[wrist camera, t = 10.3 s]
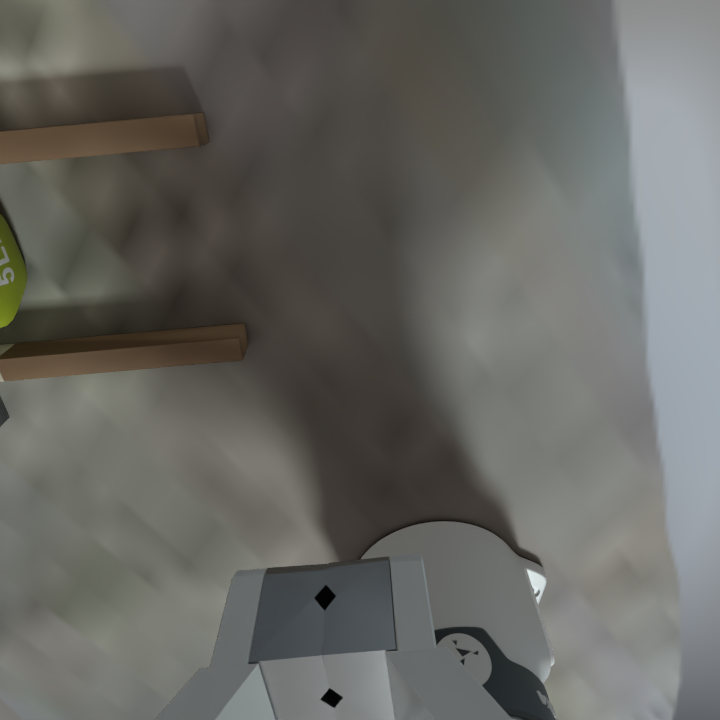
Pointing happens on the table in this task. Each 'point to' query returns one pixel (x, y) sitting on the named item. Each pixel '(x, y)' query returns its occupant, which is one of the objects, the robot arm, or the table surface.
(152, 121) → the beam slot
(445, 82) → the table surface
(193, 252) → the table surface
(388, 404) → the table surface
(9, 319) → the dumbbell
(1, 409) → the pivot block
